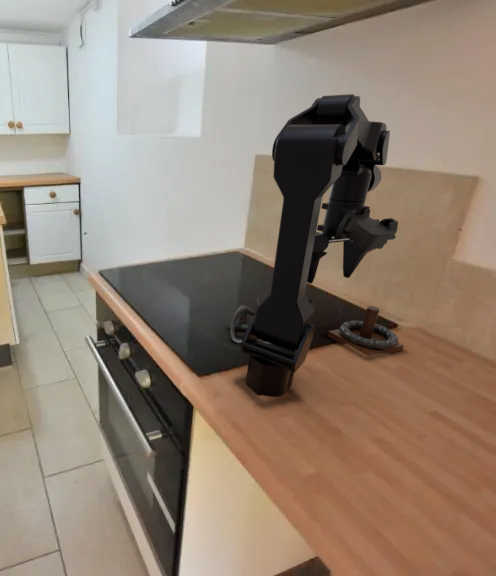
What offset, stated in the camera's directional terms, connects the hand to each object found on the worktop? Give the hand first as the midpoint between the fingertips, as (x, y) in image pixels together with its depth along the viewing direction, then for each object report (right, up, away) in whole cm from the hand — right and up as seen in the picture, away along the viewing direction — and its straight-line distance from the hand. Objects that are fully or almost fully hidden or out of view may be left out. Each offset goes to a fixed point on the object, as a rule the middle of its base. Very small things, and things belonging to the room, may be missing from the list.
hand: (328, 280), depth 74 cm
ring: (+8, -11, 0) cm, 13 cm away
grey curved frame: (-13, -11, +5) cm, 18 cm away
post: (+8, -13, +1) cm, 15 cm away
